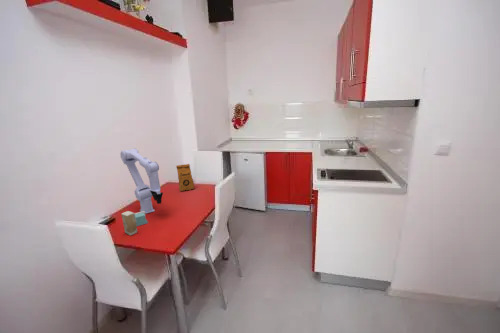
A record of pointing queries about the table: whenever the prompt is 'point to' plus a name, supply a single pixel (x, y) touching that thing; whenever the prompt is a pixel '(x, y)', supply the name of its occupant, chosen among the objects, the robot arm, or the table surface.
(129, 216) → the skincare box
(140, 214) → the teal block
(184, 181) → the coffee package
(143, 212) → the light grey piece
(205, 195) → the table surface
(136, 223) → the mat
